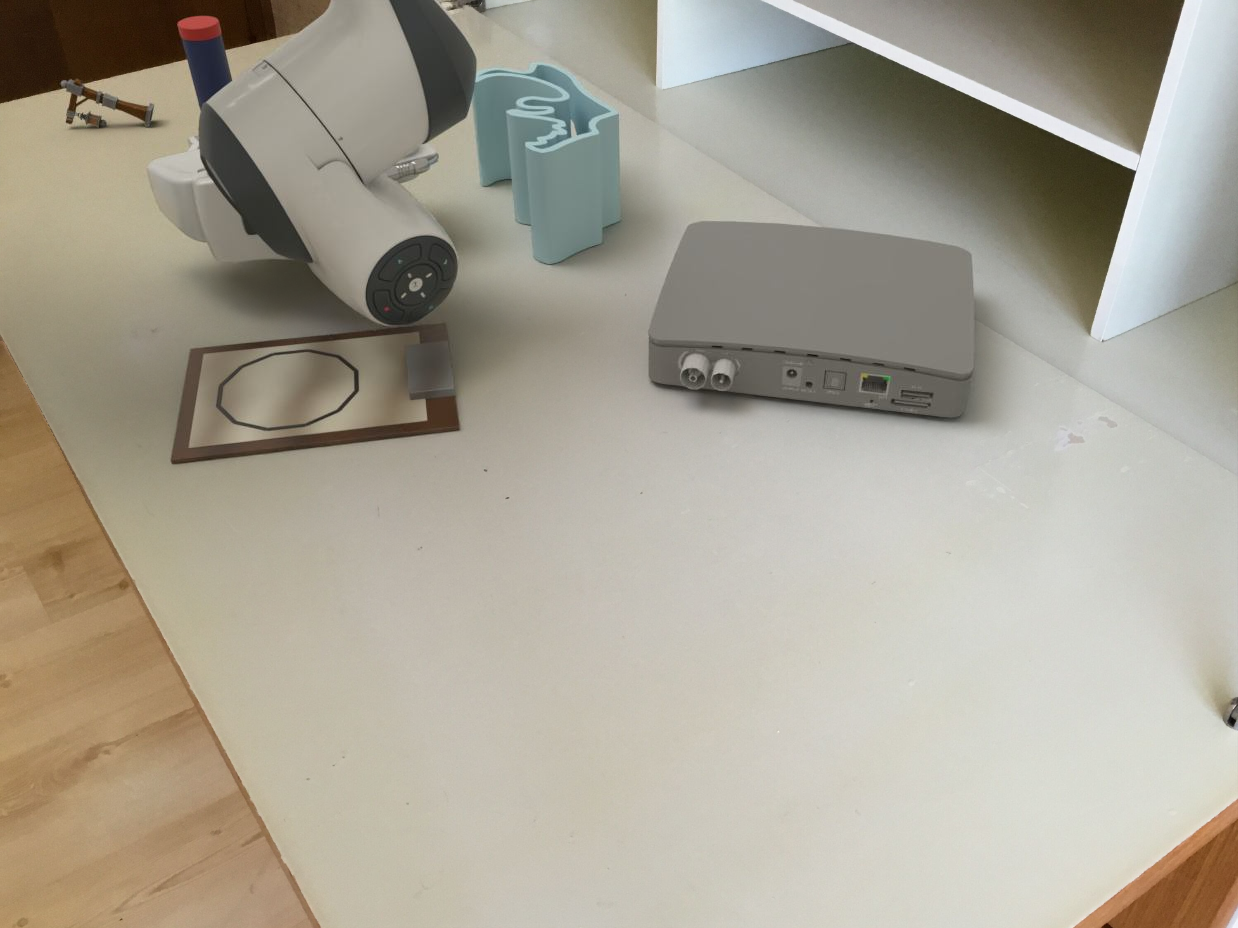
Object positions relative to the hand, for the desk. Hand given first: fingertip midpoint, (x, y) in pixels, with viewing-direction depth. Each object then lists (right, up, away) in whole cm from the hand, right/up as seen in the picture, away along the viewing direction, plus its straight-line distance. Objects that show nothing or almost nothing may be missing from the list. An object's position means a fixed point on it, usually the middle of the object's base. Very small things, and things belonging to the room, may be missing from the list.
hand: (255, 131), depth 94 cm
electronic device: (+44, -19, -10) cm, 49 cm away
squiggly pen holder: (+23, -5, +6) cm, 25 cm away
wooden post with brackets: (-20, +6, +18) cm, 28 cm away
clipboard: (+10, -23, -15) cm, 29 cm away
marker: (-6, 0, +11) cm, 12 cm away
